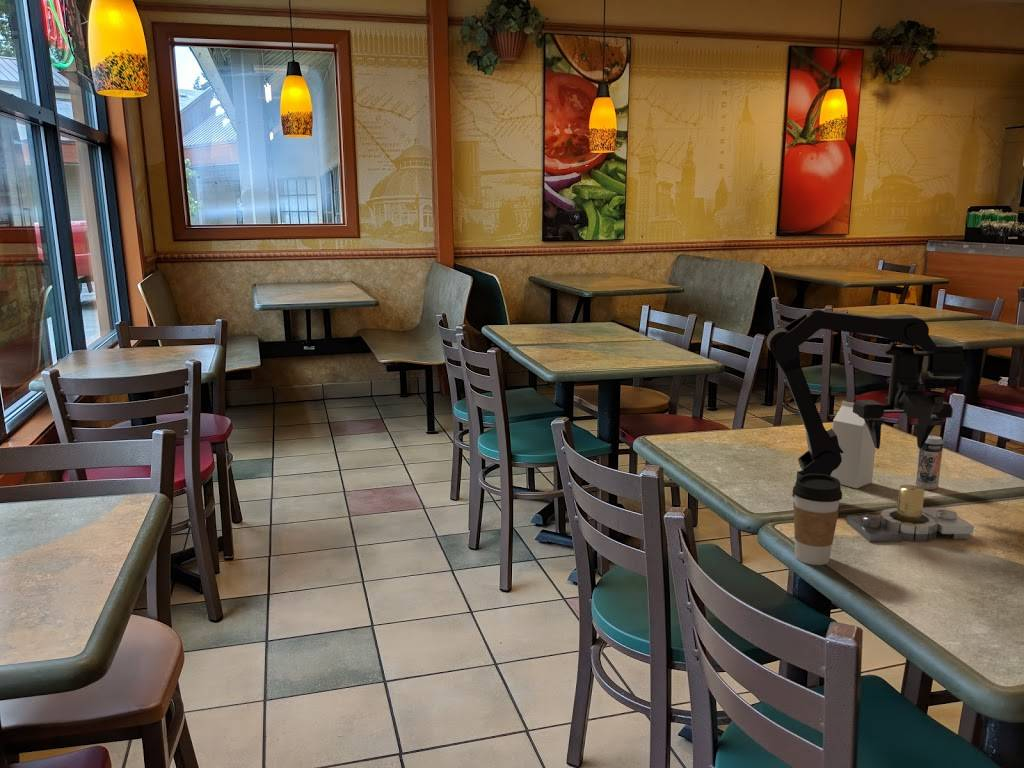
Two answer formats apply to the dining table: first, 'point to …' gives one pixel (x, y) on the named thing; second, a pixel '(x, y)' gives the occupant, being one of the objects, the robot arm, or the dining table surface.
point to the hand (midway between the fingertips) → (898, 448)
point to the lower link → (883, 530)
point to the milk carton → (853, 448)
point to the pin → (910, 504)
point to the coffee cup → (815, 517)
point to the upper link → (930, 523)
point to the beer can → (929, 463)
